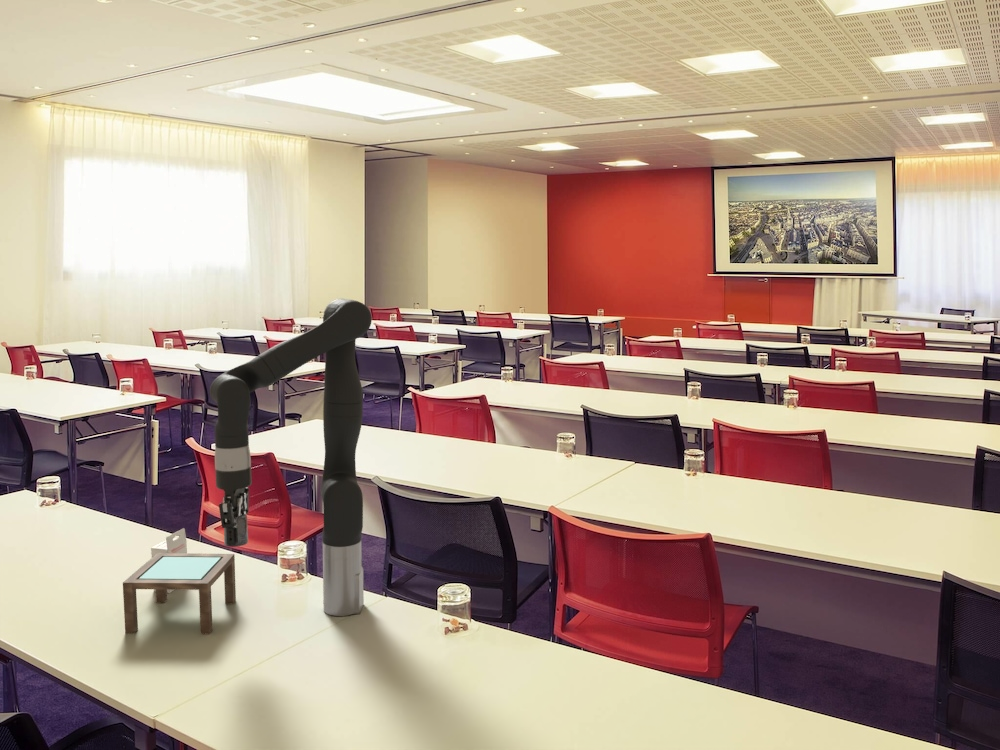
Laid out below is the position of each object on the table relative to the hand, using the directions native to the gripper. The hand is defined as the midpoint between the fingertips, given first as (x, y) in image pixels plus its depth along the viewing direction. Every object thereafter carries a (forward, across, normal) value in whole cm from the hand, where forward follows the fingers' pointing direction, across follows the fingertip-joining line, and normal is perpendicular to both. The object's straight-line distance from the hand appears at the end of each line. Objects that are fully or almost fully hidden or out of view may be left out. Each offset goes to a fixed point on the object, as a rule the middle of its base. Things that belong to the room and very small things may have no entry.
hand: (236, 539), depth 183 cm
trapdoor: (+11, +9, +16) cm, 22 cm away
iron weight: (+1, 0, 0) cm, 1 cm away
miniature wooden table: (+22, +9, +16) cm, 29 cm away
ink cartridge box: (+22, +27, +26) cm, 44 cm away
